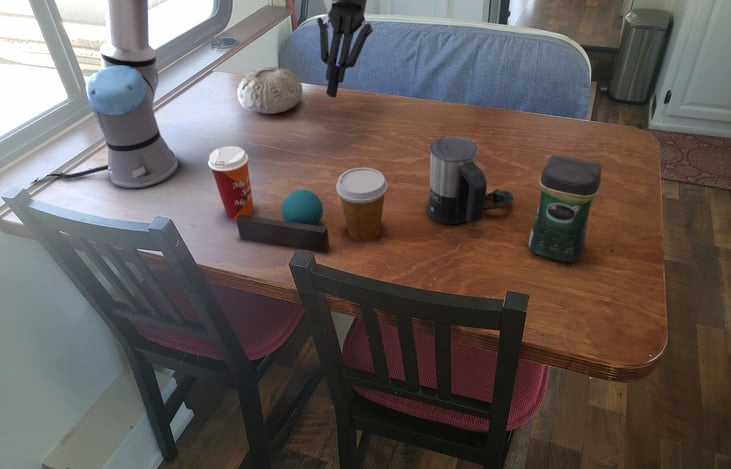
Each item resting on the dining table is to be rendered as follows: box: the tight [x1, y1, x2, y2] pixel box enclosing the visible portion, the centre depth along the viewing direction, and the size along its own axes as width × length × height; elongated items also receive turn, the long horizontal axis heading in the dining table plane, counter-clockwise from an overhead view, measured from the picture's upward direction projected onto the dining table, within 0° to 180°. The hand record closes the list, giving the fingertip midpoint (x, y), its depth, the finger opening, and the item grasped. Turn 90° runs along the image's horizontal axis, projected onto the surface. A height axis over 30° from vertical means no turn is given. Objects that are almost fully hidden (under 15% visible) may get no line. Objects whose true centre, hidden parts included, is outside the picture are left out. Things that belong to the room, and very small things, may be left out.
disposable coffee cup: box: [335, 167, 388, 242], centre depth 103 cm, size 10×10×12 cm
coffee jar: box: [528, 154, 602, 263], centre depth 95 cm, size 10×8×19 cm
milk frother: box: [427, 136, 514, 225], centre depth 106 cm, size 14×16×15 cm
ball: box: [281, 189, 324, 226], centre depth 106 cm, size 8×8×8 cm
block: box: [235, 214, 330, 254], centre depth 103 cm, size 18×2×5 cm, turn 74°
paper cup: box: [207, 145, 255, 222], centre depth 109 cm, size 8×8×14 cm
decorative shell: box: [237, 66, 303, 115], centre depth 149 cm, size 18×18×10 cm
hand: (331, 95), depth 122 cm, fingers closed
